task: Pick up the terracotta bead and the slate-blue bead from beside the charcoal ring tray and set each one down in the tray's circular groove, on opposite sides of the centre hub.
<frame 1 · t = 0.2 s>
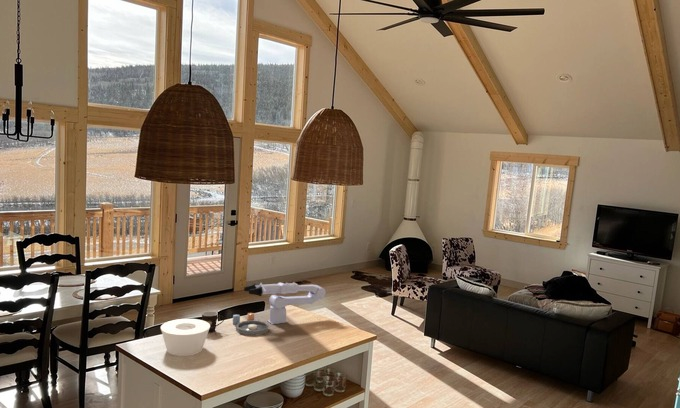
hand: (246, 290, 299), 21 cm above the kitchen island, tool horizontal, fingers open, 7 cm apart
bowl: (184, 349, 261), on the kitchen island
terracotta bead: (250, 322, 308), on the kitchen island
coffee mug: (211, 331, 289), on the kitchen island
groove tray: (252, 329, 295), on the kitchen island
slate bead: (236, 323, 303), on the kitchen island
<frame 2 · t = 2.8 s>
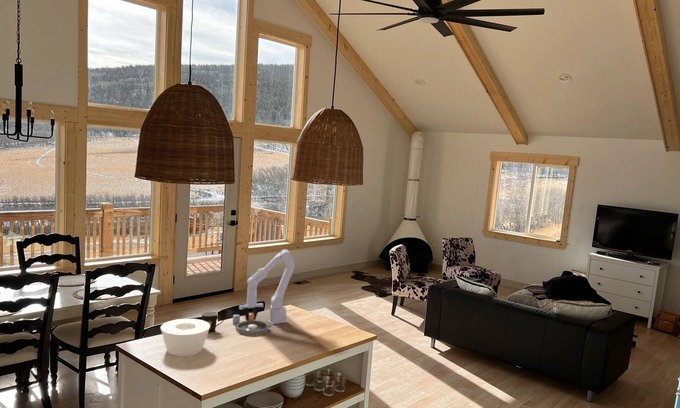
hand: (250, 319, 308), 1 cm above the kitchen island, tool pointing down, fingers closed on terracotta bead, 4 cm apart
terracotta bead: (250, 322, 308), on the kitchen island, touching gripper
everything else where it was.
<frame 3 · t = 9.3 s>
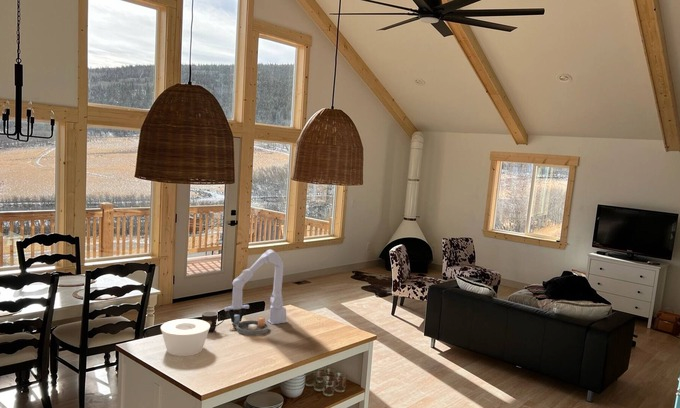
hand: (236, 321, 303), 1 cm above the kitchen island, tool pointing down, fingers closed on slate bead, 4 cm apart
terracotta bead: (261, 327, 298), point 1 cm above the kitchen island, touching groove tray
slate bead: (236, 323, 303), on the kitchen island, touching gripper
everything else where it was.
when the fingers open (4 cm above the kitchen island, at t = 12.4 s): slate bead drops 2 cm, resting on groove tray.
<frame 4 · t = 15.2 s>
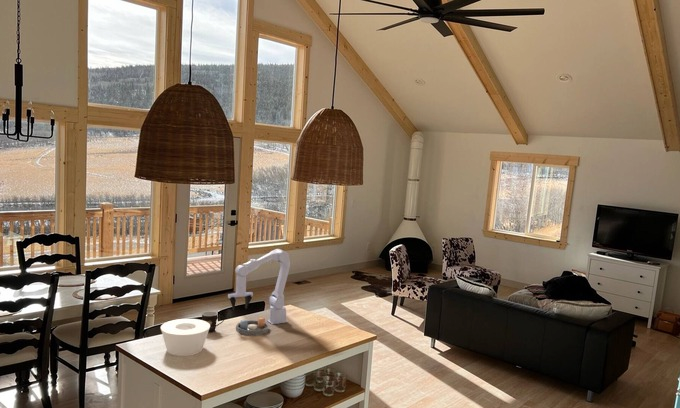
hand: (239, 309, 298), 10 cm above the kitchen island, tool pointing down, fingers open, 7 cm apart
slate bead: (243, 329, 292), point 1 cm above the kitchen island, touching groove tray
everything else where it was.
at the end: terracotta bead 0.0 cm from the target spot on the groove tray, point 1.0 cm above the groove tray's base; slate bead 0.0 cm from the target spot on the groove tray, point 1.0 cm above the groove tray's base; slate bead tilted 0° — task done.
